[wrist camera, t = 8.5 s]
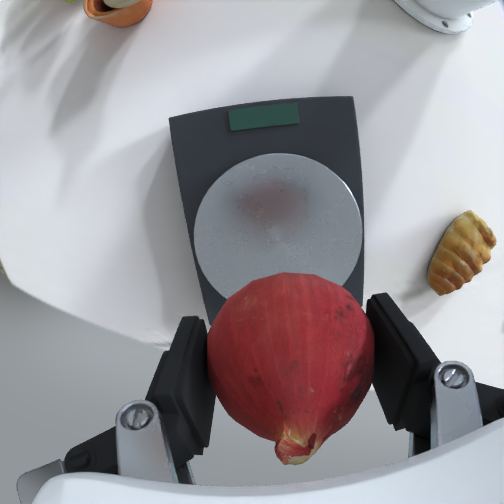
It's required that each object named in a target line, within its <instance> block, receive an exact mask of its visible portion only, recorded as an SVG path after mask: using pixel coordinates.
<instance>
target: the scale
mask: <svg viewBox="0 0 504 504" xmlns="http://www.w3.org/2000/svg"><path fill="white" fill-rule="evenodd" d="M169 125H170V131H171V138H172V145H173V151H174V157H175V163H176V169H177V175H178V181H179V186H180V192H181V197H182V202H183V208H184V213H185V218H186V223H187V228H188V233H189V238H190V242H191V247H192V252H193V256H194V261H195V265H196V270H197V274H198V278H199V283H200V287H201V291H202V295H203V300H204V304H205V308H206V312H207V316H208V320H209V324H210V325H211V326H212V323H213V321H214V320H215V318H216V316H217V315H218V313H219V312H220V310H221V309H222V307H223V305H224V304H225V302H226V301H227V299H226V298H225V297H223V296H222V295H221V294H220V293H219V292H218V291H217V290H216V289H215V288H214V287H213V286H212V285H211V284H210V282H209V281H208V280H207V278H206V276H205V275H204V273H203V272H202V269H201V267H200V265H199V262H198V259H197V256H196V252H195V246H194V226H195V219H196V216H197V212H198V209H199V206H200V204H201V202H202V200H203V198H204V196H205V195H206V193H207V191H208V190H209V188H210V187H211V186H212V185H213V184H214V182H215V181H216V180H217V179H218V178H219V177H220V176H221V175H222V174H224V173H225V172H226V171H227V170H229V169H230V168H232V167H233V166H235V165H236V164H238V163H240V162H242V161H244V160H246V159H249V158H252V157H255V156H259V155H264V154H271V153H287V154H295V155H299V156H303V157H307V158H309V159H312V160H315V161H317V162H319V163H320V164H322V165H324V166H326V167H327V168H329V169H330V170H331V171H333V172H334V173H335V174H336V175H337V176H338V177H339V178H340V179H341V180H342V181H343V182H344V183H345V184H346V186H347V187H348V188H349V190H350V191H351V193H352V195H353V197H354V199H355V200H356V203H357V206H358V208H359V211H360V216H361V220H362V244H361V250H360V254H359V257H358V260H357V263H356V265H355V267H354V269H353V271H352V273H351V274H350V276H349V277H348V279H347V280H346V281H345V283H344V284H343V285H342V287H344V288H345V289H346V290H347V291H348V292H349V293H351V294H352V296H353V297H354V298H355V300H356V301H357V302H358V304H359V305H360V307H362V305H363V284H364V205H363V185H362V170H361V157H360V147H359V137H358V128H357V120H356V112H355V105H354V99H353V96H332V97H307V98H292V99H280V100H270V101H261V102H253V103H245V104H238V105H231V106H225V107H219V108H213V109H208V110H203V111H197V112H193V113H188V114H183V115H179V116H174V117H170V118H169Z"/></svg>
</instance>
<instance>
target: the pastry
mask: <svg viewBox="0 0 504 504" xmlns="http://www.w3.org/2000/svg"><path fill="white" fill-rule="evenodd" d="M495 245H496V238H495V235H494V233H493V231H492V230H491V228H489V227H488V226H487V224H486V223H485V222H484V221H483V220H482V219H481V218H480V217H479V216H478V215H477V214H475V213H474V212H473V211H471V210H469V211H466V212H464V213H463V214H461V215H460V216H458V217H456V218H455V219H454V221H453V222H452V224H451V225H450V226H449V227H448V228H447V230H446V232H445V234H444V235H443V237H442V240H441V241H440V243H439V244H438V247H437V249H436V251H435V253H434V255H433V257H432V259H431V262H430V265H429V270H428V273H427V281H428V284H429V285H430V287H431V288H432V289H434V290H435V291H436V293H437V294H439V295H440V296H441V295H444V294H449V293H451V292H453V291H454V290H458V289H460V288H461V287H462V285H463V284H464V283H467V282H470V281H471V279H472V277H473V276H475V275H476V274H478V273H480V272H481V271H482V265H483V264H485V263H487V262H488V261H489V260H490V259H491V249H492V248H493V247H494V246H495Z"/></svg>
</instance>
